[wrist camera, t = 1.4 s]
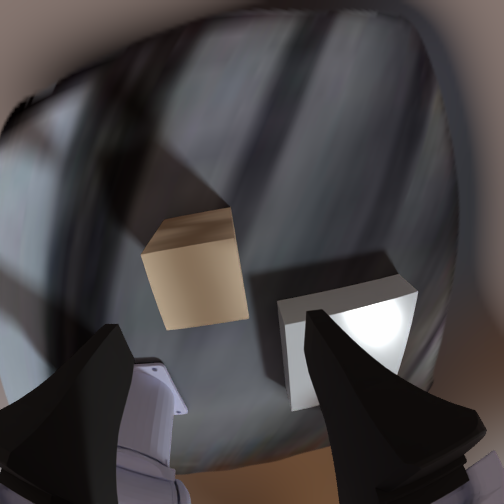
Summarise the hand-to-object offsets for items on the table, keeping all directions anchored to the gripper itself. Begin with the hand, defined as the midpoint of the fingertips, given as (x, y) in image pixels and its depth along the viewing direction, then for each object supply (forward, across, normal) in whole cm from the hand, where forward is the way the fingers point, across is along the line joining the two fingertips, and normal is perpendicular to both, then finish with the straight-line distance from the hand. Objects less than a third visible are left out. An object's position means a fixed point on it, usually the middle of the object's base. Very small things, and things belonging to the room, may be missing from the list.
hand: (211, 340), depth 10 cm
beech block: (+10, +1, 0) cm, 10 cm away
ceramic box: (+10, -10, +11) cm, 17 cm away
